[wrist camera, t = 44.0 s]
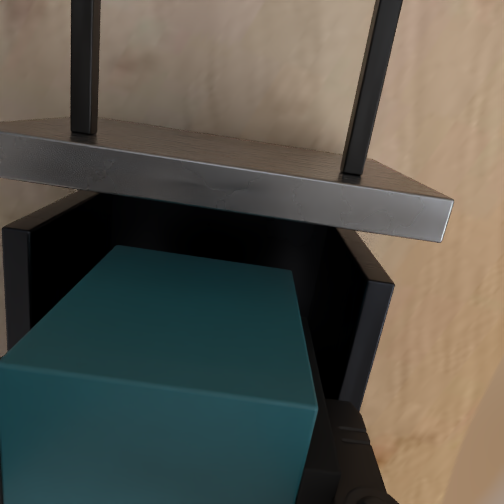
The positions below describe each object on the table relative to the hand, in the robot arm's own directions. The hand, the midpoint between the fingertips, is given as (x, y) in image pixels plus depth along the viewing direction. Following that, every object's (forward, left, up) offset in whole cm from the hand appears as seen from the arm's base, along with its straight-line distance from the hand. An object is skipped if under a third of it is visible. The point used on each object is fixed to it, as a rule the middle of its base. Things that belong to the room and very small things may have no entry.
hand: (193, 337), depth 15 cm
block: (0, 0, 0) cm, 1 cm away
